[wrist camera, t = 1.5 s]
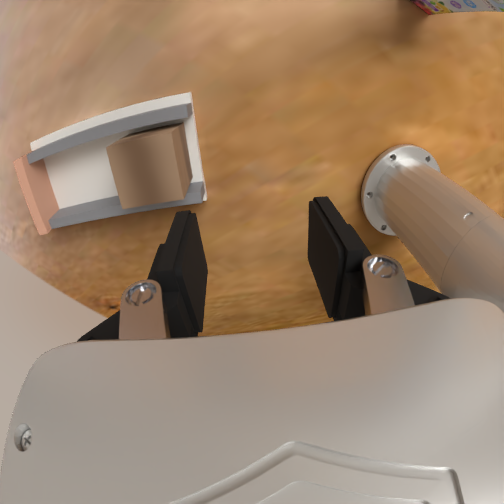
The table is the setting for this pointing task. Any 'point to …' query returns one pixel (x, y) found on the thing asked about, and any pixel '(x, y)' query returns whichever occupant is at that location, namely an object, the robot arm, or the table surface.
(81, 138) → the chute
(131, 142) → the walnut block
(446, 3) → the snack box
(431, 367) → the robot arm
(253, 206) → the table surface
